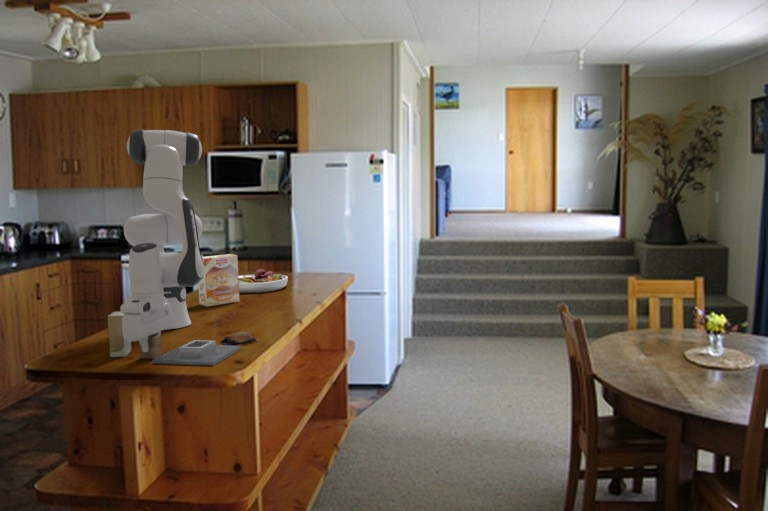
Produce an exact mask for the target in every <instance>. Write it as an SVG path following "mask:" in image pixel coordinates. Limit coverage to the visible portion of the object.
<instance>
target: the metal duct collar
mask: <svg viewBox="0 0 768 511" xmlns="http://www.w3.org/2000/svg"><path fill="white" fill-rule="evenodd" d="M240 350H242V345H238V346H233V345H223V344H217V340H209V339H208V340H205V339H204V340H203V339H202V340H201V339H194V340H191V341H189V342H187V343H184V344H183V345H180V346H178V347H176V348H175V349H172V350H170V351H168V352H165V353H164V354H162V356H160V357H158V358H156V359H152V364H153V365H154V364H156V365H157V364H158V365H180V366H181V365H183V366H205V367H206V366H207V367H208V366H209V367H210V366H211V367H212V366H216V365H217V364H219V363H221V362H222V361H224V360H227V358H229V357H230V356H232V355H233V354H235V353H237V352H239V351H240Z"/></svg>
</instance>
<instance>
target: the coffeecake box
mask: <svg viewBox="0 0 768 511" xmlns="http://www.w3.org/2000/svg"><path fill="white" fill-rule="evenodd" d="M202 260H203V264H204V276H203V278H202V279H201V280H200V281H199V282H198V283H197V286H198V300H199V305H201V306H205V307H212V306H218V305H225V304H232V303H233V304H234V303H239V302H240V293H239V279H238V276H239V262H238V261H239V260H238V255H237V254H232V253H227V254H219V255H217V254H215V255H209V256H207V255H206V256H202Z"/></svg>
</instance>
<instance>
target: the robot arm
mask: <svg viewBox="0 0 768 511" xmlns="http://www.w3.org/2000/svg"><path fill="white" fill-rule="evenodd" d="M126 151H127V153H128V156H129V159H130V160H132V161H133V162H134V163H136V164H139V165H141V166H142V165H144V168H143V169H144V170H143V178H142V179H143V180H142V193H143V194H142V195H143V199H144V201H145V202H146V203H147V204H148V205H149V206H150V207H151V208H152V209H154V210H156V211H158V212H160V213H142V214H138V215H134V216H133V215H132V216H130V217H128V218H127V219H126V221H125V223H124V226H123V235H124V238H125V240H126V241H127V242H128V243H129V245H131V246H132V247H131V248H130V251H129V255H128V256H129V257H128V276H129V280H130V285H131V286H130V291H129V292H130V295H129V297H128V298H127V300H125V302H124V303H122V304H121V305H120V310H119V311H121V313H125V314H124V315H123V316H122V332H123V337H124V339H125V341H131V342H138V343H139V342H140V344H141V346H142V352H148V351H150V350H151V349H150V345H148V342H147V340H148V336H150V335H161V336H162V331H166V330H174V329H175V330H176V329H180V328H185V327H188V326H190V325H192V321H191V319H190V316H189V315H190V314H189V312H188V306H187V303H186V302H187V301H186V300H187V289H186V287H190V288H193V287H194V286H197V285H198V282H199V281H200V280H201V279H202V278H203V276H204V264H203V260H202V257H203V256H202V252H201V248H200V247H201V246H200V240H199V239H200V238H201V236H202V234H203V223H202V220H201V219H200V217H199V216H198V215H197V214H195V208H194V205H193V203H192V201H191V200H190V199H189V198H187V197H186V194H185V193H184V189H183V176H184V175H183V166H185V167H192V166H196V165H197V164H198V163H199V160H200V159H201V157H202V153H203V147H202V143H201V140H200V137H199V136H198V135H196V134H194V133H191V132H183V131H177V130H170V129H165V130H163V129H162V130H161V129H148V130H147V129H144V128H141V129H135V130H132V132H131V133H130V134H129V137H128V138H127V142H126ZM174 245H182V251H181V252H166V251H165V249H164V246H174Z"/></svg>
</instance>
